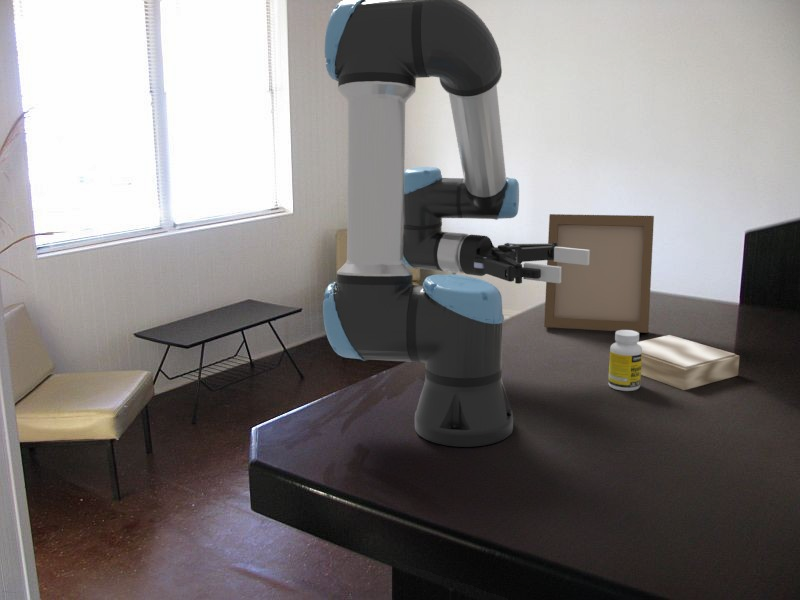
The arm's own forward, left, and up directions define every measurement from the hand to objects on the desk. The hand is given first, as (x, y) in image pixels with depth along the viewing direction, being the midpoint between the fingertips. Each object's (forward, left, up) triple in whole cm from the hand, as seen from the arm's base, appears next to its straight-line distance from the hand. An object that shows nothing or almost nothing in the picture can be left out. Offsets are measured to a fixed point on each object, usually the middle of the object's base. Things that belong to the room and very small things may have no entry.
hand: (575, 266), depth 138 cm
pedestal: (+19, -7, -21) cm, 29 cm away
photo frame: (+29, +24, -21) cm, 43 cm away
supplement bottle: (+5, -8, -21) cm, 23 cm away
